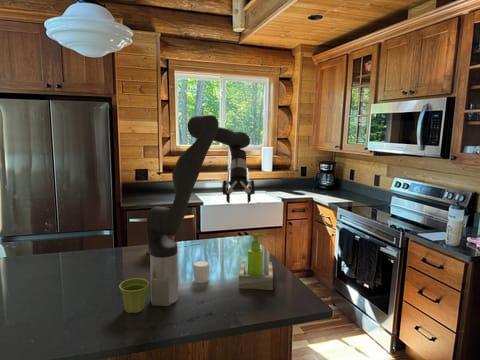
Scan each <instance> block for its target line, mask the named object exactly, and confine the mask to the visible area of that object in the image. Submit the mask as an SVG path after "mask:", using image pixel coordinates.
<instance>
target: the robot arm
mask: <svg viewBox="0 0 480 360" xmlns="http://www.w3.org/2000/svg"><path fill="white" fill-rule="evenodd" d="M187 131H188V133H189V136H191V137H192V138H193V139H194V138H195V139H196V140H195V141H194V142H193V143H192V144H191V145H190V146H189V147H187V148H186V150H185V151H183V153H181V154H180V156H179V157H178V159H177V161H176V163H175V165H174V168H173V170H172V175H171V177H172V183H173V188H174V199H173V202H172V204H171V206H170V207H163V206H153V207H152V208H150V210H149V211H148V213H147V216H146V224H145V225H146V237H147V239H148V240H147V248H148V247H149V249H150V255H149V259H150V260H149V264H150V265H149V266H150V267H149V268H150V269H149V270H150V302H151V305H152V306H158V307H159V306H161V307H170V306H171V305H172V304H174V303H176V302H177V301H178V298H179V294H178V290H179V288H178V244H177V243H176V242H175V241H174V242H173V241H172V240H170V239H169V238H168V237H167V235H169V236H174V237H175V235H177V234H178V233H179V231H180V230H181V228H182V225H183V223H184V219H185V215H186V212H187V207H188V204H189V201H190V200H191V199H190V198H191V195H192V192H193V189H194V187H195V184H196V182H197V180H198V178H199V175H200V173H201V170H202V166H203V164H204V161H205V160H206V156H207V154H208V152H209V149H210V148H211V145H212V144H213V143H214V142H217V143H220V144H223V145H224V146H225V145H226V146H228V148H229V150H230V151H229V152H230V155H231V159H230V160H231V163H230V177H229V179H230V180H229V181H227V180H223V181H222V182H223V183H222V189H221V190H222V195H223V196H224V195H226V202H227V203H228V204H230V202H231V196H230V195H231V194H232V193H234V191H235V192H242V191H243V192H244V193H245V194H246V195H247V199H246V200H247V204H250V202H252V199H251V198H252V195H255V194H256V193H255V190H256V188H255V180H254V179H252V180H250V181H249V180H248V169H247V168H248V165H247V152H246V151H245V150H243V149H245V148H247V147H248V146H249V145H250V144H251V138H250V137H249V135H248V134H247V133H246V132H244V131H234V130H231V129H230V128H227V127H223V126H222V127H221V126H219V121H218V118H217V117H216V116H215V115H213V114H201V115H195V116H192V117H190V118H189V120H188V121H187ZM248 185H249V187H251V190H250V189H249V188H248ZM228 186H229V187H228ZM227 187H228V189H227Z"/></svg>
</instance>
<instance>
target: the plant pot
mask: <svg viewBox="0 0 480 360" xmlns="http://www.w3.org/2000/svg"><path fill="white" fill-rule="evenodd" d="M149 286H150V282H149V281H148V280H147V279H145V278H136V277H135V278H129V279H125V280H124V281H122V282H121V283H119V285H118V287H119V289H120V292H121V293H122V294H121V295H122V300H123V306H124V310H125V312H126V313H128V314H131V313H133V314H138V313H139V312H142V311H144V308H145V304H146V297H147V296H146V295H147V291H148V287H149Z"/></svg>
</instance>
